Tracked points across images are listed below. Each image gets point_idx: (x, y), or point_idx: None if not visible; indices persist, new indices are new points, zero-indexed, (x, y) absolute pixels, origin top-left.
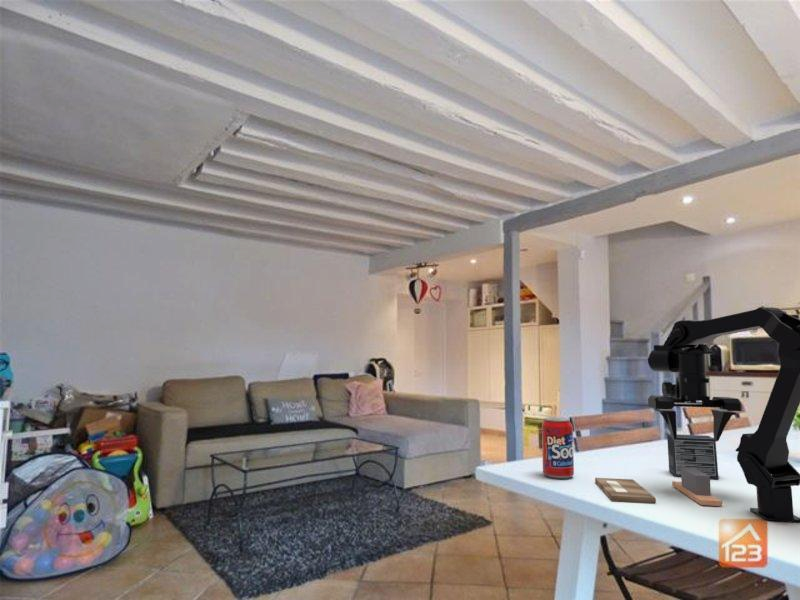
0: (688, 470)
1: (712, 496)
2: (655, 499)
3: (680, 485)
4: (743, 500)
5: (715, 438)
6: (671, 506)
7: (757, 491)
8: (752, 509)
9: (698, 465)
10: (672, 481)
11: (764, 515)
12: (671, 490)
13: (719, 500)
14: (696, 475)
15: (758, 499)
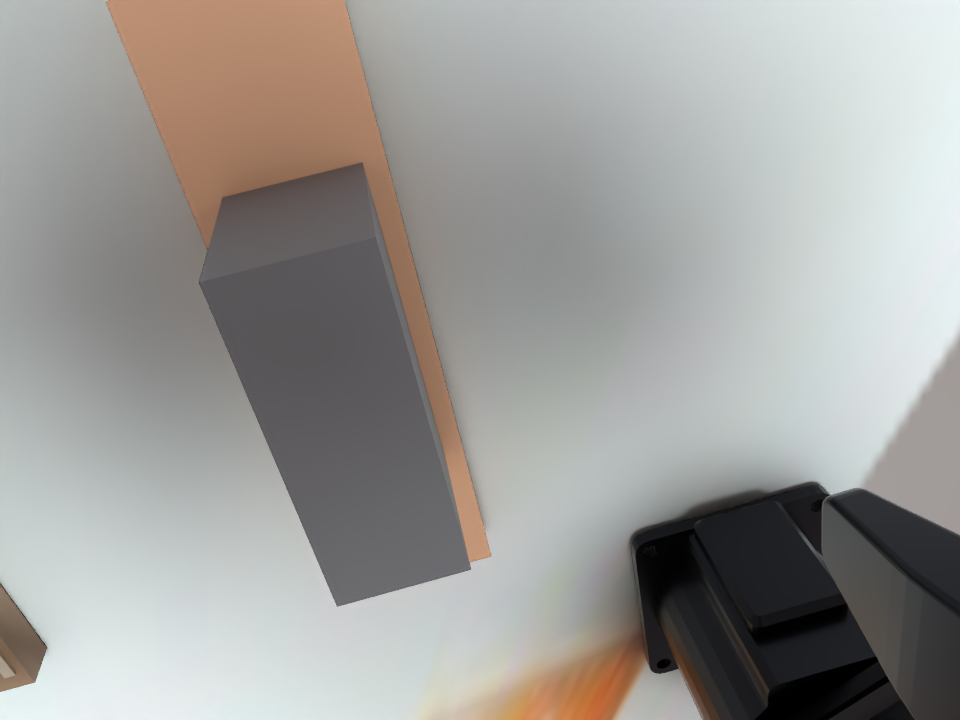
0: (288, 420)
1: (453, 467)
2: (37, 670)
3: (209, 193)
4: (698, 282)
5: (848, 575)
6: (156, 653)
7: (705, 710)
8: (640, 569)
9: None
10: (110, 11)
11: (658, 645)
12: (123, 200)
13: (478, 547)
14: (350, 598)
15: (684, 672)
